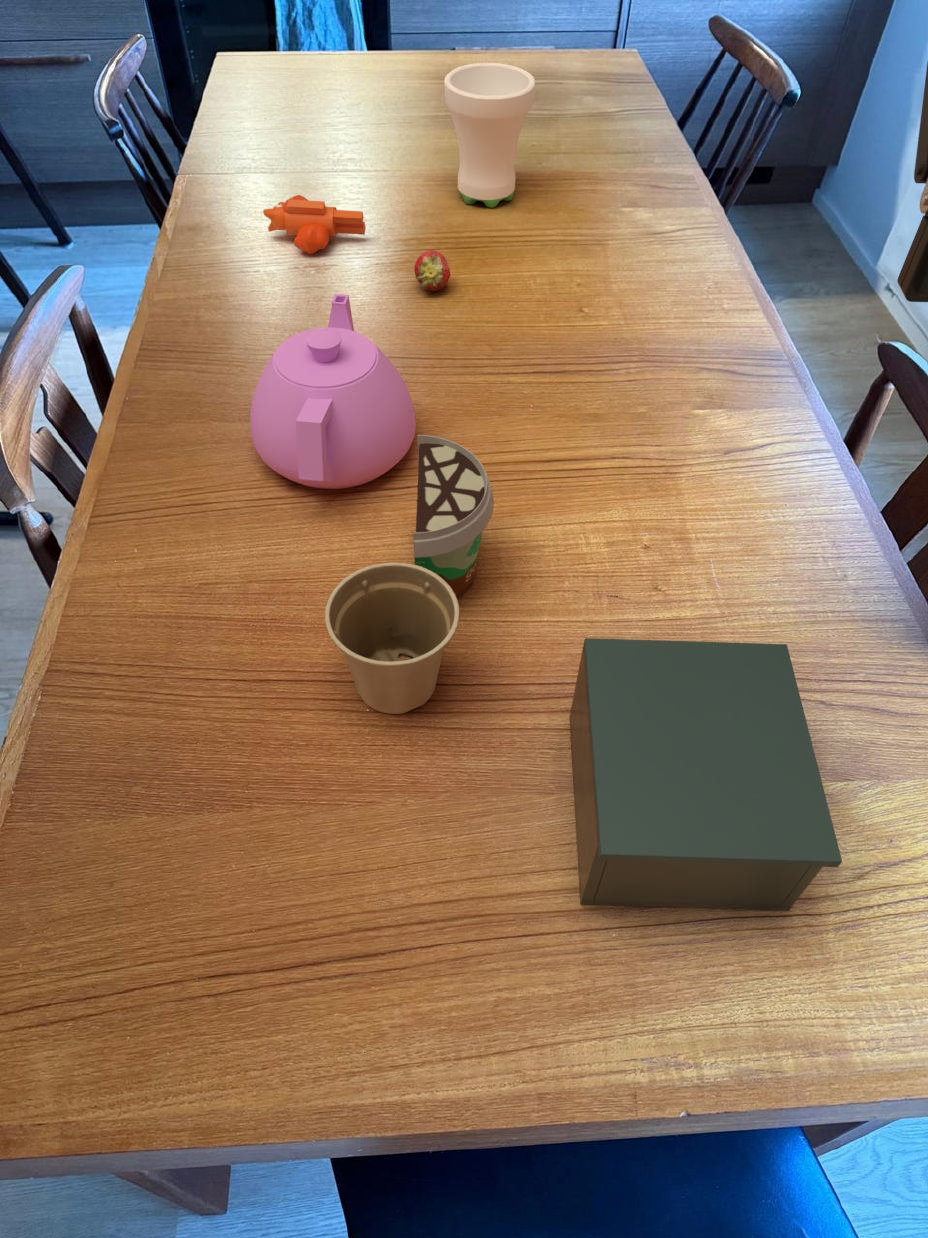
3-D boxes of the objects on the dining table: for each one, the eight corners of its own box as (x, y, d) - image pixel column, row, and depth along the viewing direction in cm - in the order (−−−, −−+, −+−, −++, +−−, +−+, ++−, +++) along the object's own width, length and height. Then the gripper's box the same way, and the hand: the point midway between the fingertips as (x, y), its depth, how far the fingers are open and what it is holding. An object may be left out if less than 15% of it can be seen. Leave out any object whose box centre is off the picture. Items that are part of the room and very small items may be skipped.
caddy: (788, 911, 58) (834, 853, 52) (580, 905, 58) (597, 845, 52) (749, 721, 68) (783, 651, 61) (569, 716, 68) (583, 645, 61)
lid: (838, 868, 51) (842, 862, 50) (598, 860, 51) (600, 854, 50) (783, 650, 61) (787, 643, 60) (583, 644, 61) (584, 637, 60)
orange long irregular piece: (364, 189, 108) (266, 184, 109) (355, 238, 106) (255, 232, 106) (368, 221, 113) (275, 216, 114) (361, 268, 110) (265, 262, 111)
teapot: (407, 527, 80) (402, 418, 71) (234, 520, 80) (206, 411, 71) (424, 378, 94) (421, 272, 85) (276, 373, 94) (257, 266, 85)
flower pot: (449, 628, 73) (450, 555, 66) (466, 726, 67) (468, 657, 60) (333, 640, 72) (321, 567, 65) (339, 740, 66) (327, 671, 59)
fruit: (453, 274, 107) (454, 234, 103) (447, 301, 104) (448, 260, 100) (418, 271, 108) (417, 231, 104) (411, 299, 104) (410, 258, 100)
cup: (544, 197, 120) (554, 81, 109) (484, 224, 115) (488, 105, 104) (487, 168, 125) (491, 54, 114) (427, 193, 120) (425, 76, 109)
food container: (491, 625, 73) (497, 539, 65) (416, 624, 73) (413, 538, 65) (488, 519, 81) (492, 431, 73) (420, 518, 81) (417, 430, 73)
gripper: (1324, -99, 28) (1044, 373, 41) (1133, -184, 36) (952, 231, 50) (1081, -102, 28) (880, 369, 41) (948, -186, 36) (816, 228, 50)
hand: (920, 293), depth 46 cm, fingers closed
